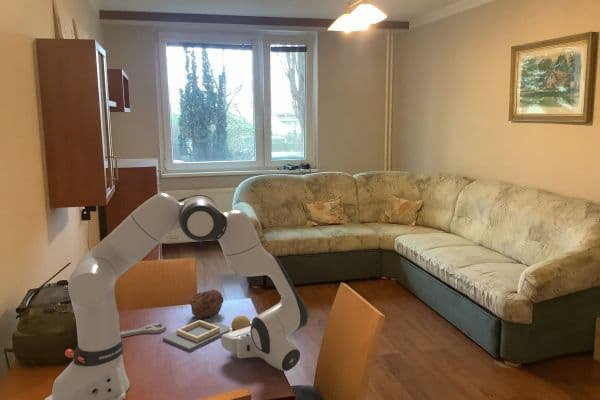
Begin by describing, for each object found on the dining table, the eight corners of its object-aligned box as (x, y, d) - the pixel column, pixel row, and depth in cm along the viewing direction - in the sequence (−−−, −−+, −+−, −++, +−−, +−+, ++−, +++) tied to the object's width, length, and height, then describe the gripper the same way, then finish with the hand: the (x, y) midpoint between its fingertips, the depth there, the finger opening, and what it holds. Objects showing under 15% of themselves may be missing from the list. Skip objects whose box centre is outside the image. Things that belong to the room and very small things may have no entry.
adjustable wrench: (91, 344, 175) (90, 339, 175) (91, 336, 181) (91, 331, 181) (166, 332, 184) (165, 327, 183) (164, 325, 190) (164, 321, 189)
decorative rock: (221, 307, 205) (221, 283, 203) (226, 318, 195) (225, 293, 193) (188, 311, 201) (187, 287, 199) (191, 323, 191) (190, 297, 189)
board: (189, 351, 168) (189, 344, 168) (162, 340, 177) (162, 333, 176) (233, 330, 184) (232, 324, 184) (206, 320, 192) (206, 314, 192)
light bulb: (249, 348, 170) (249, 320, 168) (230, 348, 170) (229, 320, 168) (251, 340, 176) (251, 312, 175) (233, 340, 177) (232, 312, 175)
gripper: (288, 323, 168) (265, 310, 179) (234, 340, 156) (212, 325, 166) (288, 341, 169) (265, 327, 180) (234, 360, 157) (213, 343, 168)
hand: (239, 326), depth 173 cm, fingers closed on light bulb, 6 cm apart
